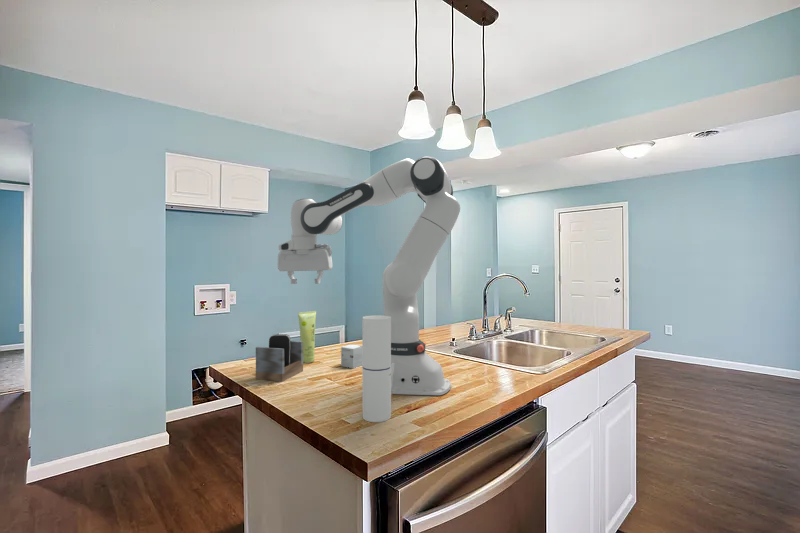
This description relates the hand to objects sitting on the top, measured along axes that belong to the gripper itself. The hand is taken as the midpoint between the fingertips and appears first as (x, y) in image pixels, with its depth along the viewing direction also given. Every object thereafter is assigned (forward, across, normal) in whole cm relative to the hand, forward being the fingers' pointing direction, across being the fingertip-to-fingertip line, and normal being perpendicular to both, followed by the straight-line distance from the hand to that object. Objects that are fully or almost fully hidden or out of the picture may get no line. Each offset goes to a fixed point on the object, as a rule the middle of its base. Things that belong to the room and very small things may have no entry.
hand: (305, 283), depth 142 cm
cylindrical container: (+32, -37, +34) cm, 60 cm away
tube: (+31, +6, -10) cm, 33 cm away
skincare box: (+32, -13, -9) cm, 36 cm away
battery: (+28, +6, +8) cm, 30 cm away
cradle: (+31, +6, +8) cm, 32 cm away
